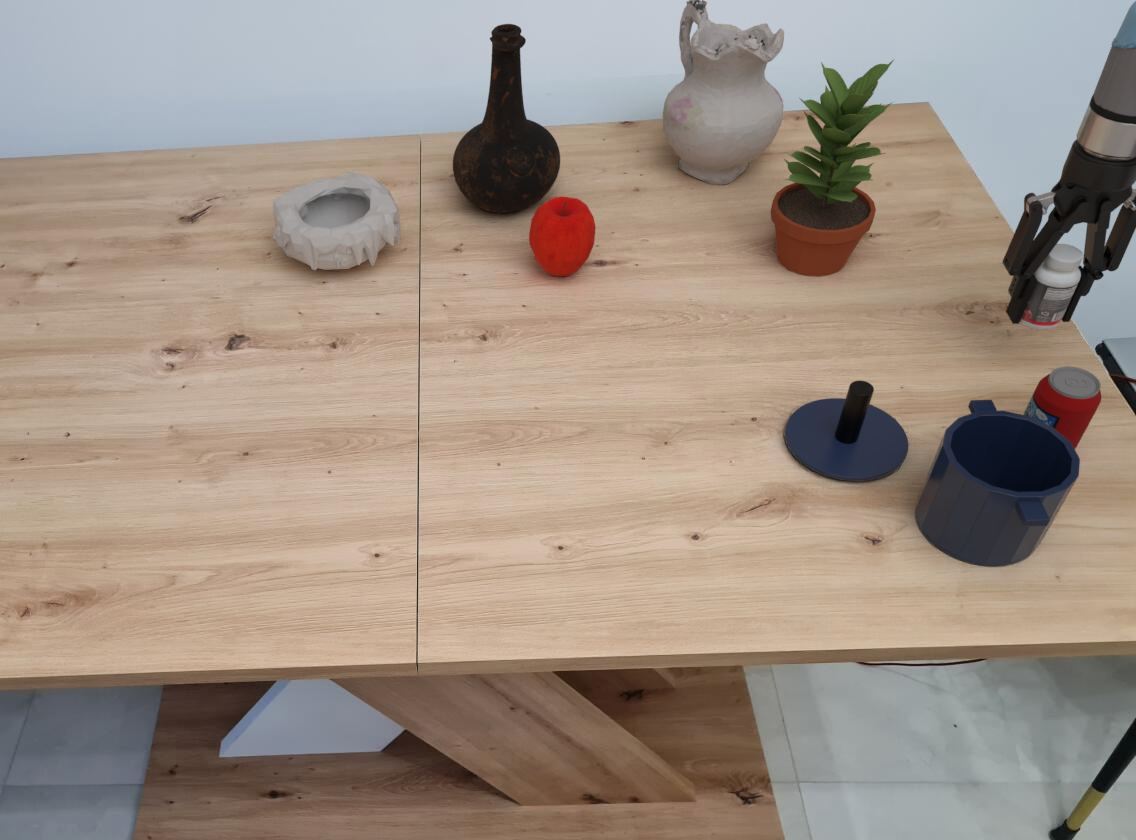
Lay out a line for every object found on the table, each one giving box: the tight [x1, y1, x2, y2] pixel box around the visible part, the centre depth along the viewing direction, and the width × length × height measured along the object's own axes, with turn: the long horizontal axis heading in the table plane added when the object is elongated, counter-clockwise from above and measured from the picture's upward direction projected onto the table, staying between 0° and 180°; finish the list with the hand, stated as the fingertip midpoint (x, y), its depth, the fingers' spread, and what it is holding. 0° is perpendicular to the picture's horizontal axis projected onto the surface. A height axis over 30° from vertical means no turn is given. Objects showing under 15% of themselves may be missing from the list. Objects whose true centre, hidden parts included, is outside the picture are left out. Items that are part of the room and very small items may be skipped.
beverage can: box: [1022, 366, 1102, 450], centre depth 125 cm, size 7×7×12 cm
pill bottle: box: [1019, 243, 1084, 331], centre depth 131 cm, size 5×5×10 cm
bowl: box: [272, 171, 401, 271], centre depth 167 cm, size 21×20×10 cm
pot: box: [914, 399, 1081, 568], centre depth 119 cm, size 14×19×12 cm
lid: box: [784, 380, 909, 482], centre depth 130 cm, size 15×15×9 cm
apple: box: [528, 196, 597, 277], centre depth 158 cm, size 10×10×12 cm
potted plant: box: [770, 59, 895, 277], centre depth 149 cm, size 15×15×30 cm
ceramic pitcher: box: [662, 0, 785, 186], centre depth 172 cm, size 22×20×25 cm
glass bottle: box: [452, 23, 561, 214], centre depth 168 cm, size 18×18×28 cm
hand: (1037, 316), depth 134 cm, fingers closed on pill bottle, 5 cm apart
